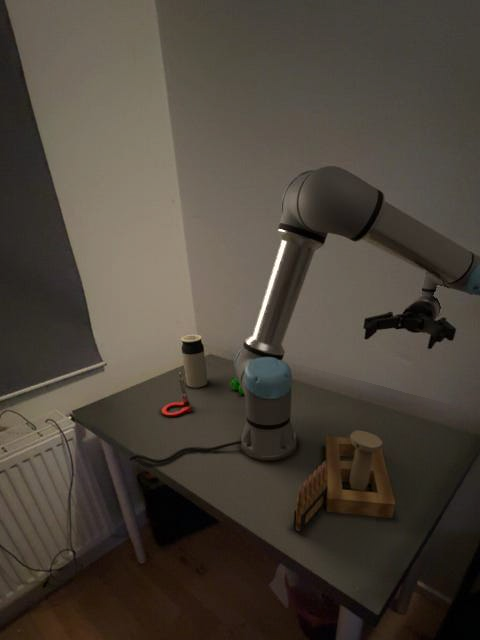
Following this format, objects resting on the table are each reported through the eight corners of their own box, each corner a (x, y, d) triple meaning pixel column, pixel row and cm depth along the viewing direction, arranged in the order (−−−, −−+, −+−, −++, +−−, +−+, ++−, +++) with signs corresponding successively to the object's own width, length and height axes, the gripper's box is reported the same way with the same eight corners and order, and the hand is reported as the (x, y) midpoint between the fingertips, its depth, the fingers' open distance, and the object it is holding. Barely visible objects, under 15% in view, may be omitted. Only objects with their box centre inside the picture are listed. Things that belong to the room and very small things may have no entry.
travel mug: (198, 389, 129) (192, 342, 119) (182, 385, 132) (175, 339, 123) (211, 381, 134) (207, 335, 125) (195, 377, 138) (189, 333, 128)
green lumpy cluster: (277, 384, 129) (278, 366, 126) (258, 401, 119) (257, 382, 115) (243, 376, 137) (242, 360, 133) (222, 392, 126) (220, 374, 122)
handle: (361, 506, 75) (371, 450, 67) (338, 490, 80) (345, 436, 72) (375, 496, 78) (387, 441, 70) (352, 481, 82) (360, 428, 74)
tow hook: (164, 420, 112) (192, 412, 114) (155, 384, 105) (185, 376, 107) (160, 409, 118) (186, 402, 121) (151, 374, 111) (179, 367, 114)
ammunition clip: (318, 499, 78) (322, 456, 71) (326, 503, 77) (331, 460, 70) (293, 529, 71) (294, 485, 65) (300, 534, 70) (303, 489, 64)
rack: (326, 511, 75) (328, 497, 72) (325, 448, 94) (326, 436, 92) (392, 518, 72) (395, 504, 70) (376, 451, 92) (379, 439, 89)
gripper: (470, 335, 87) (456, 364, 73) (370, 323, 100) (341, 345, 86) (480, 304, 83) (466, 328, 69) (374, 296, 96) (344, 314, 82)
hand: (397, 338), depth 77 cm, fingers open, 13 cm apart
